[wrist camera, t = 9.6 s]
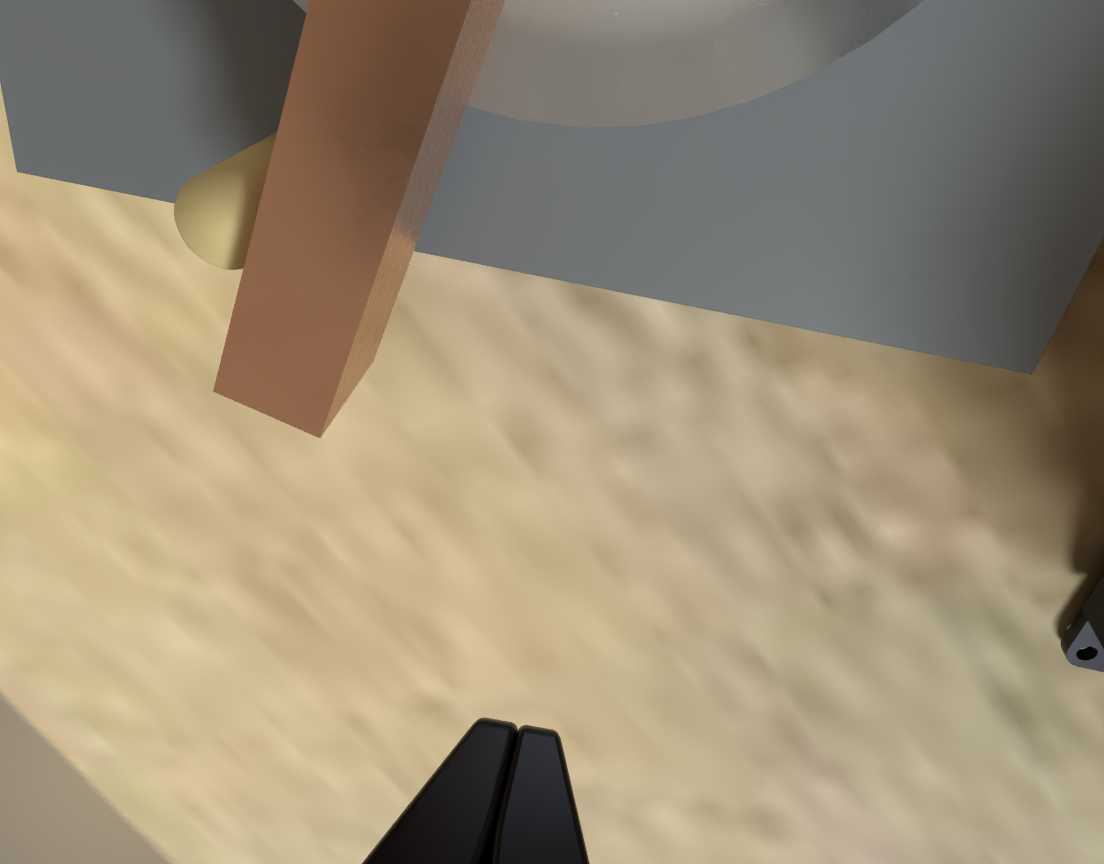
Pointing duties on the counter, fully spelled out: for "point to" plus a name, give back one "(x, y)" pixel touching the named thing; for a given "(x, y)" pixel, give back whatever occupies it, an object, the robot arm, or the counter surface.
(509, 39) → the grey disc with handle
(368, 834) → the counter surface
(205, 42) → the post plate
